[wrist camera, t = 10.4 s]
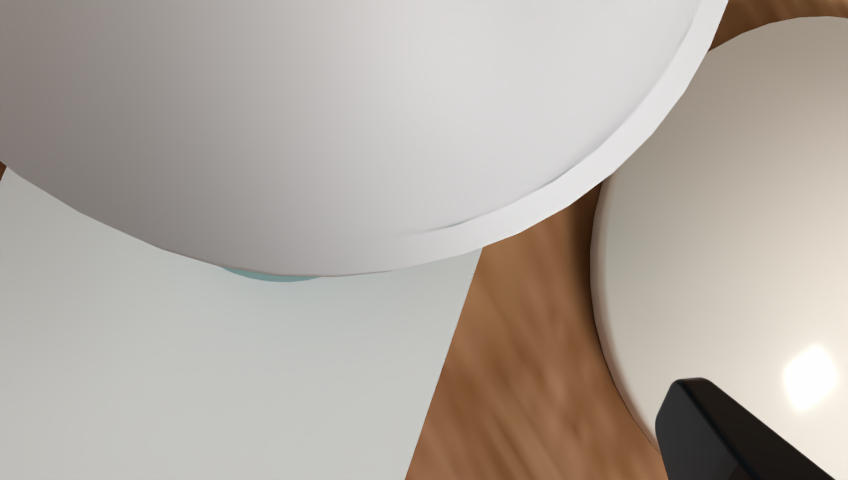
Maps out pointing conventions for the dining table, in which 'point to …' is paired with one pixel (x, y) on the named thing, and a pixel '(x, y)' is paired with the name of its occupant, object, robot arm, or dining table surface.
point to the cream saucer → (738, 240)
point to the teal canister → (335, 118)
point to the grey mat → (206, 358)
